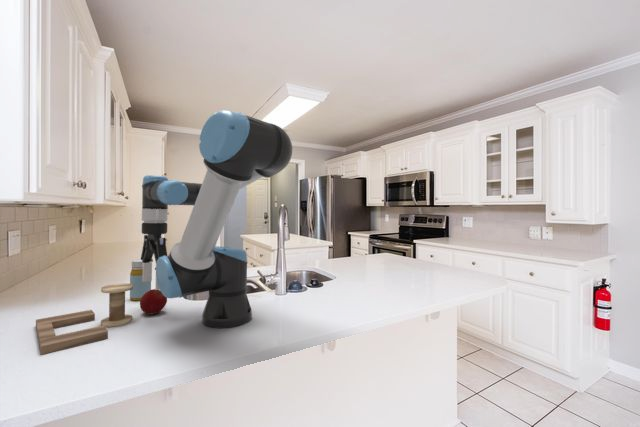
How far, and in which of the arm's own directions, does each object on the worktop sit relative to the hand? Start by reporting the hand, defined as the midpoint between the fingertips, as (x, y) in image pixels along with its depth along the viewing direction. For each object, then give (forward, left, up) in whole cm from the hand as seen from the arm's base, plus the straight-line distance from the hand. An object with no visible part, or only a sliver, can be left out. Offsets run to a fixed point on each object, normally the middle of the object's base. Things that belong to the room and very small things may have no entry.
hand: (153, 285), depth 99 cm
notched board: (-1, +21, -9) cm, 24 cm away
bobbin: (-1, +10, -9) cm, 14 cm away
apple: (0, 0, -10) cm, 10 cm away
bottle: (+21, -2, -10) cm, 23 cm away
